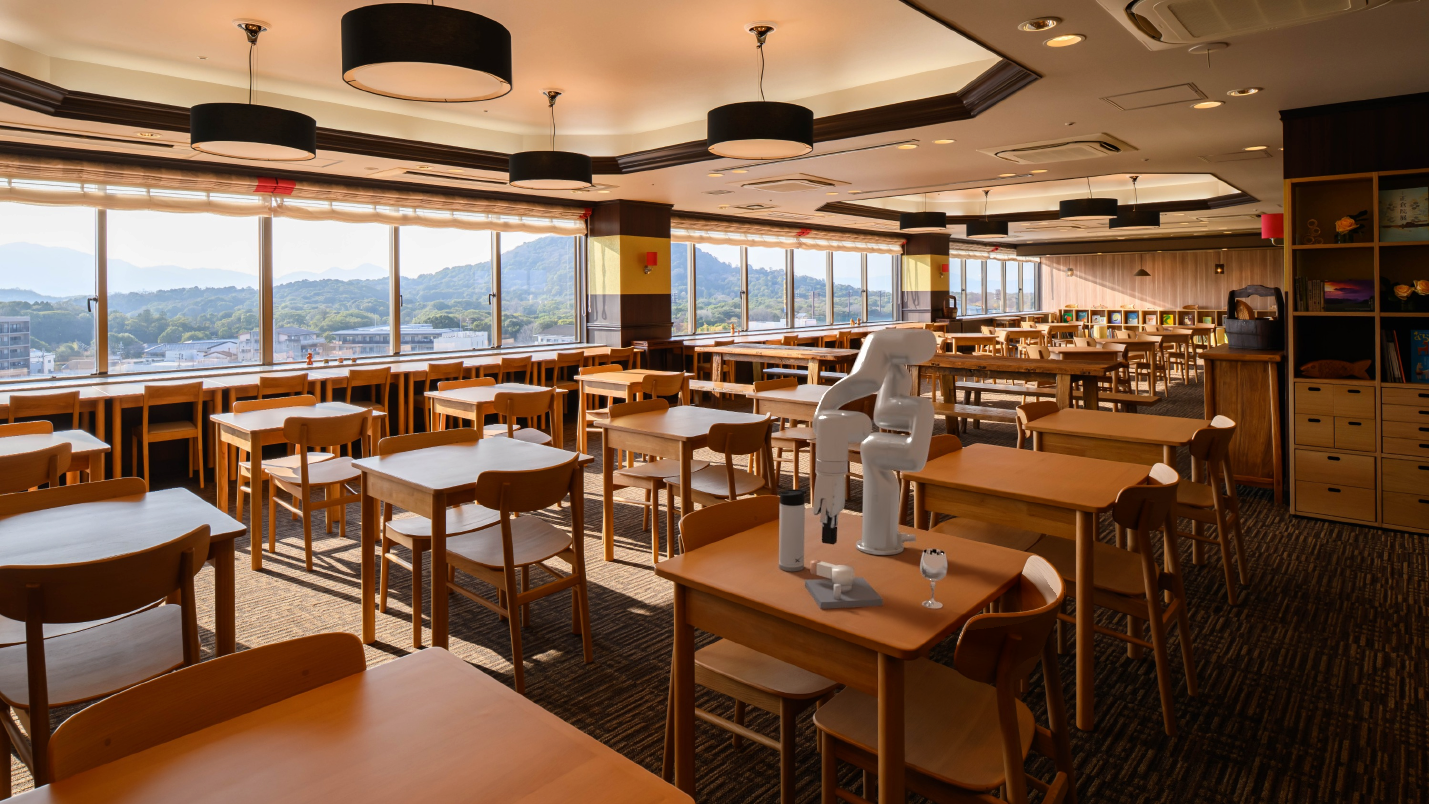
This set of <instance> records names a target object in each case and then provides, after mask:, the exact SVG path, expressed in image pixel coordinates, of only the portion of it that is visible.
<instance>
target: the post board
mask: <svg viewBox="0 0 1429 804" xmlns="http://www.w3.org/2000/svg"><path fill="white" fill-rule="evenodd" d="M804 587H805V588H806V590H807V591H808V593H809V594H810V596H811V595H812V596H811V597H812V599H813V598H814V599H813V600H814V602H815V603H816V605H818V608H820V610H824V609H827V608H828V609H843V607H845V608H859V607H860V608H861V607H879V606H883V605H884V599H883V597H882V596H881V595H880V594H879V593H878V592H877V591H876V590H875V589H874V587H872V586H871V585H870V583H869V582H868V581H867V580H866V579H865V578H864V577H863V576H858V577H857V576H856V577H855V576H854V583H853V584H851V585H840V584H834V583H833V582H832V579H830V578H818V579H813V578H812V579H804ZM841 607H842V608H841Z"/></svg>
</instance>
